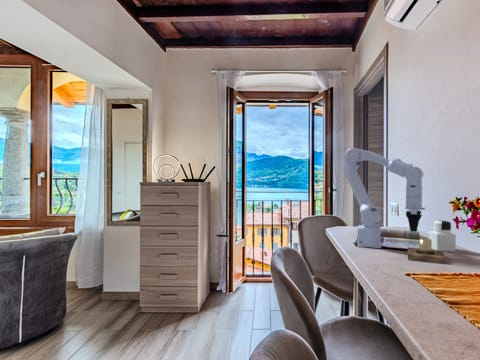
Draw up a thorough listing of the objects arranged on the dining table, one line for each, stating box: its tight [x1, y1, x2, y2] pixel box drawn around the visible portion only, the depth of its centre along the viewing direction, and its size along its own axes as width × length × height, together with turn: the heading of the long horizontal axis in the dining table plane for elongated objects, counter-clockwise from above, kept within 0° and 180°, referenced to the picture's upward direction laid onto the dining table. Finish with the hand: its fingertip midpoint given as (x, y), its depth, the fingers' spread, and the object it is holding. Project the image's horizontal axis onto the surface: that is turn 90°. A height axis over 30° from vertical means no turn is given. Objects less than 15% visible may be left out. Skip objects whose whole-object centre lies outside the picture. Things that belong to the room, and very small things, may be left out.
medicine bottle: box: [428, 220, 457, 253], centre depth 136 cm, size 7×7×12 cm
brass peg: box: [418, 238, 433, 255], centre depth 123 cm, size 4×4×7 cm
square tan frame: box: [406, 247, 447, 264], centre depth 124 cm, size 12×12×2 cm
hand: (413, 229), depth 133 cm, fingers open, 7 cm apart
